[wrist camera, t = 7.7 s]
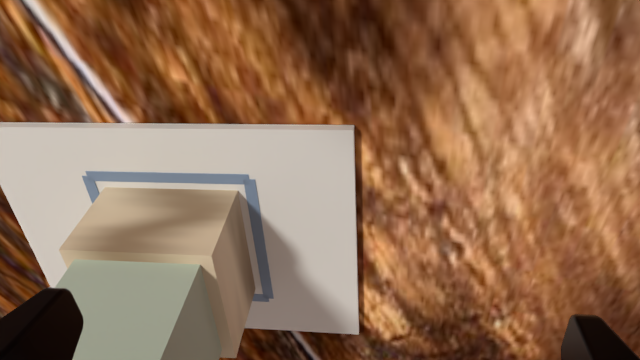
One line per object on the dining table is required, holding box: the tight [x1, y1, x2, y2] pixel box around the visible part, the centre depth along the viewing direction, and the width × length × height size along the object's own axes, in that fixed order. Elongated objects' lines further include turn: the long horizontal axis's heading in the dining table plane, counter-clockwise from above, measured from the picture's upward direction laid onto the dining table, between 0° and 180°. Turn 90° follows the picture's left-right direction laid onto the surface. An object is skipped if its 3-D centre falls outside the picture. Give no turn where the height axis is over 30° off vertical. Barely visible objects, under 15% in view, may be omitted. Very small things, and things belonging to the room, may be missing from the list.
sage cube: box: [55, 259, 222, 360], centre depth 20 cm, size 5×5×5 cm
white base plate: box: [0, 122, 359, 335], centre depth 25 cm, size 16×12×1 cm
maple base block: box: [59, 187, 255, 358], centre depth 24 cm, size 6×6×4 cm
